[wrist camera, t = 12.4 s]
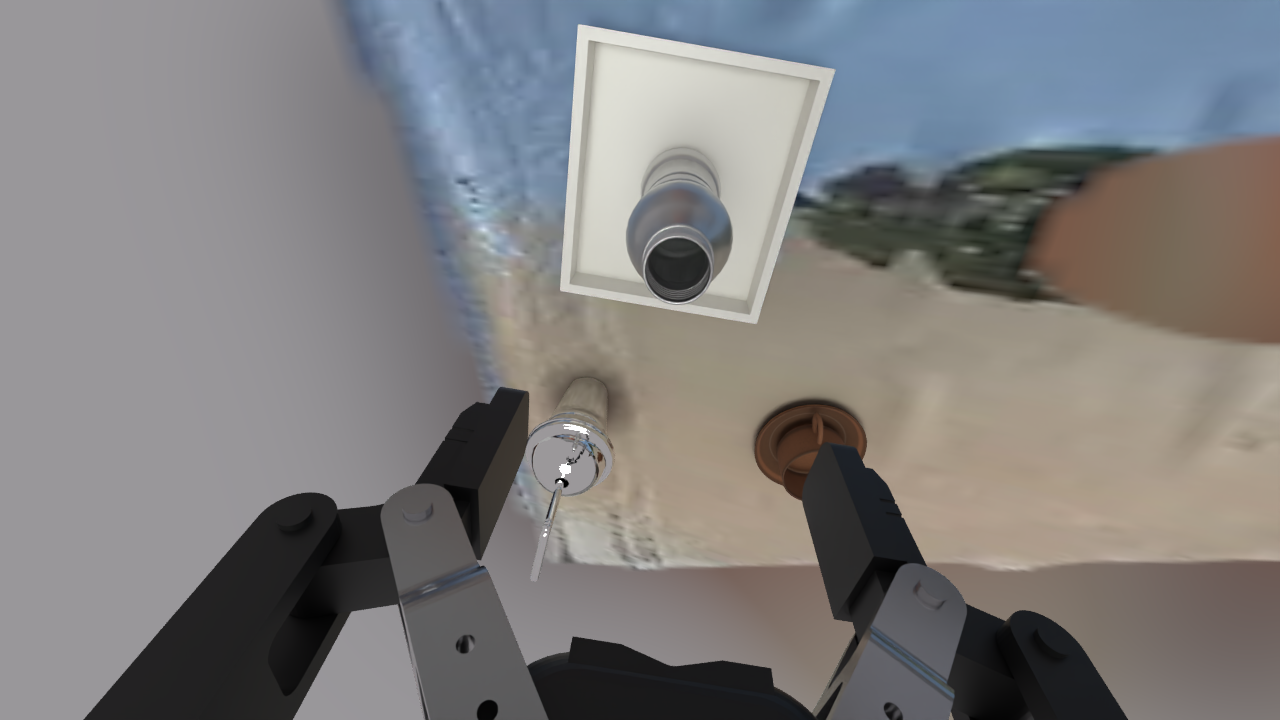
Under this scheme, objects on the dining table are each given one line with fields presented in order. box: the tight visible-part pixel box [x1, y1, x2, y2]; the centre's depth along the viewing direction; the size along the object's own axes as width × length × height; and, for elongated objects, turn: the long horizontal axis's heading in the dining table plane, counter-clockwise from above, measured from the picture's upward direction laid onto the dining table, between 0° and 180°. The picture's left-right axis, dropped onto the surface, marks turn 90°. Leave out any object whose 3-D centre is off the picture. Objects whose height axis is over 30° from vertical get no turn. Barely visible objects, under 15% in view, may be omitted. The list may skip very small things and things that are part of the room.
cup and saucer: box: [755, 405, 867, 501], centre depth 53 cm, size 12×12×6 cm
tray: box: [560, 24, 836, 324], centre depth 40 cm, size 20×18×4 cm
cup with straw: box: [526, 377, 615, 581], centre depth 46 cm, size 8×9×20 cm
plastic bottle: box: [626, 148, 733, 305], centre depth 33 cm, size 6×7×20 cm
